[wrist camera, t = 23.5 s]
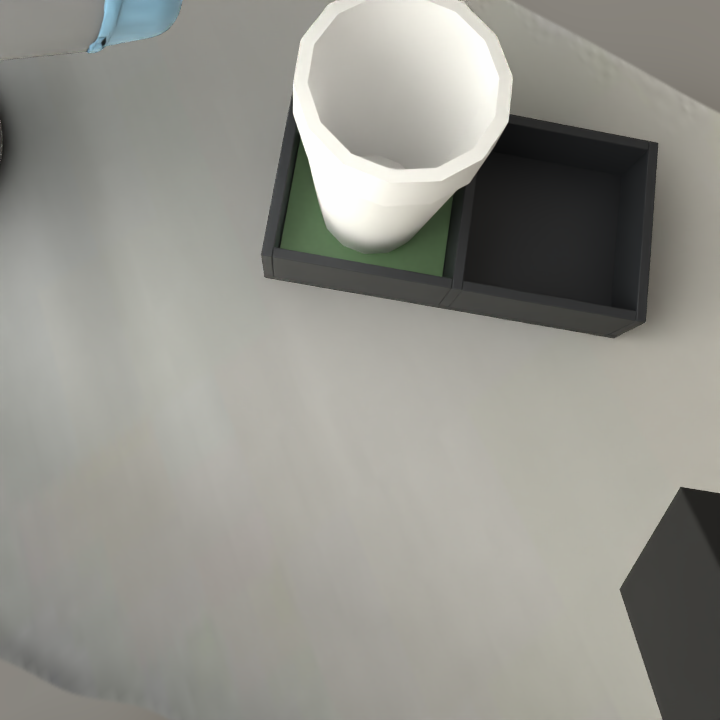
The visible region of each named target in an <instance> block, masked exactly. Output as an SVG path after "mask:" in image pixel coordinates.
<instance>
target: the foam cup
mask: <svg viewBox="0 0 720 720" xmlns="http://www.w3.org/2000/svg"><path fill="white" fill-rule="evenodd" d="M512 83H513V76H512V74H511V71H510V69H509V66H508V63H507V61H506V58H505V56H504V53H503V50H502V48H501V45H500V43H499V40H498V38H497V35H496V34H495V33H494V32H493V31H492V30H491V29H490V28H489V27H488V26H487V25H486V24H485V23H484V22H483V21H482V20H481V19H480V18H478V17H477V16H476V15H475V14H474V13H473V12H472V11H471V10H470V9H469V8H468V7H467V6H466V5H465V4H464V3H463V2H461V1H459V0H336V1H334V2H332V3H330V4H328V6H327V7H326V8H325V9H324V11H323V12H322V13H321V14H320V16H319V17H318V18H317V19H316V21H315V22H314V23H313V24H312V26H311V27H310V28H309V29H308V31H307V32H306V33H305V34H304V36H303V37H302V38H301V40H300V46H299V52H298V58H297V64H296V69H295V75H294V81H293V114H294V118H295V121H296V124H297V127H298V130H299V133H300V136H301V139H302V142H303V145H304V148H305V151H306V154H307V156H308V160H309V164H310V169H311V173H312V177H313V181H314V186H315V190H316V194H317V198H318V203H319V206H320V209H321V212H322V215H323V218H324V222H325V225H326V228H327V229H328V230H329V232H330V233H331V234H332V235H333V236H334V237H335V238H336V239H337V240H338V241H339V242H340V243H341V244H342V245H343V246H346V247H348V248H351V249H353V250H356V251H358V252H361V253H363V254H375V253H389V252H390V251H392V250H394V249H396V248H398V247H400V246H402V245H403V244H405V243H407V242H408V241H409V240H411V239H412V237H413V236H414V235H415V234H416V233H417V232H418V231H419V230H420V229H421V228H422V227H423V226H424V225H425V224H426V223H427V222H428V220H429V219H430V218H431V217H432V216H433V215H434V214H435V213H436V212H437V211H438V210H439V209H440V208H441V207H442V206H443V204H444V203H445V202H446V201H447V200H448V199H449V198H450V197H451V196H452V195H453V194H454V193H455V192H456V191H457V190H458V189H460V188H462V187H463V186H465V185H467V184H469V183H470V182H471V180H472V179H473V177H474V176H475V174H476V173H477V171H478V170H479V168H480V167H481V166H482V164H483V163H484V161H485V160H486V158H487V157H488V155H489V154H490V152H491V151H492V149H493V148H494V146H495V144H496V143H497V141H498V139H499V137H500V136H501V134H502V132H503V131H504V129H505V127H506V125H507V124H508V122H509V112H510V103H511V93H512Z"/></svg>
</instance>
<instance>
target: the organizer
mask: <svg viewBox="0 0 720 720" xmlns="http://www.w3.org/2000/svg"><path fill="white" fill-rule="evenodd" d="M657 156H658V143H656V142H651V141H646V140H641V139H636V138H630V137H625V136H620V135H615V134H610V133H604V132H599V131H594V130H589V129H584V128H578V127H573V126H568V125H563V124H558V123H552V122H547V121H542V120H537V119H532V118H526V117H521V116H516V115H511V114H509V122H508V124H507V125H506V127H505V129H504V131H503V132H502V134H501V136H500V137H499V139H498V141H497V143H496V144H495V146H494V148H493V149H492V151H491V152H490V154H489V155H488V157H487V158H486V160H485V161H484V163H483V164H482V166H481V167H480V168H479V170H478V171H477V173H476V174H475V176H474V177H473V179H472V180H471V182H470V183H469V184H467V185H465V186H463V187H462V188H460V189H458V190H457V191H456V192H455V193H454V194H453V195H452V196H451V197H450V198H449V199H448V200H447V201H446V202H445V203H444V204H443V206H442V207H441V208H440V209H439V210H438V211H437V212H436V213H435V214H434V215H433V216H432V217H431V218H430V219H429V220H428V222H427V223H426V224H425V225H424V226H423V227H422V228H421V229H420V230H419V231H418V232H417V233H416V234H415V235H414V236H413V237H412V239H411V240H409V241H408V242H407V243H405V244H403V245H402V246H400V247H398V248H396V249H394V250H392V251H390V252H389V253H375V254H363V253H361V252H358V251H356V250H353V249H351V248H348V247H346V246H343V245H342V244H341V243H340V242H339V241H338V240H337V239H336V238H335V237H334V236H333V235H332V234H331V233H330V232H329V230H328V229H327V228H326V225H325V222H324V218H323V215H322V212H321V209H320V206H319V203H318V198H317V194H316V190H315V186H314V181H313V177H312V173H311V169H310V164H309V160H308V156H307V154H306V151H305V148H304V145H303V142H302V139H301V136H300V133H299V130H298V127H297V124H296V121H295V118H294V114H293V91H292V96H291V101H290V107H289V112H288V117H287V122H286V128H285V133H284V138H283V143H282V149H281V154H280V159H279V164H278V169H277V175H276V180H275V185H274V190H273V196H272V201H271V206H270V211H269V216H268V222H267V227H266V232H265V237H264V243H263V248H262V253H261V256H262V263H263V269H264V277H266V278H271V279H277V280H283V281H289V282H294V283H300V284H306V285H312V286H317V287H323V288H329V289H335V290H340V291H346V292H352V293H358V294H363V295H369V296H375V297H381V298H386V299H392V300H398V301H404V302H409V303H415V304H421V305H427V306H432V307H438V308H444V309H450V310H455V311H461V312H467V313H473V314H478V315H484V316H490V317H496V318H501V319H507V320H513V321H519V322H524V323H530V324H536V325H542V326H547V327H553V328H559V329H565V330H570V331H576V332H582V333H588V334H593V335H599V336H605V337H611V338H615V337H617V336H619V335H621V334H623V333H625V332H627V331H629V330H631V329H633V328H635V327H637V326H640V325H642V324H644V323H645V322H646V313H647V299H648V284H649V270H650V256H651V241H652V227H653V213H654V199H655V184H656V170H657Z"/></svg>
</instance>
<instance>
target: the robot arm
mask: <svg viewBox="0 0 720 720" xmlns="http://www.w3.org/2000/svg"><path fill="white" fill-rule="evenodd" d="M181 5H182V0H0V60H9V59H19V58H28V57H38V56H48V55H58V54H68V53H77V52H88V53H96V52H99V51H101V50H102V49H103V48H104V47H105V46H109V45H115V44H120V43H125V42H131V41H136V40H141V39H147V38H152V37H155V36H157V35H160V34H162V33H164V32H165V31H167V30H168V29H169V28H170V27H171V26H172V25H173V23H174V22H175V20H176V18H177V16H178V15H179V12H180V9H181ZM2 148H3V136H2V127H1V121H0V163H1V157H2ZM620 592H621V595H622V598H623V601H624V604H625V607H626V610H627V613H628V616H629V619H630V622H631V625H632V628H633V631H634V634H635V637H636V640H637V643H638V646H639V649H640V652H641V655H642V658H643V661H644V664H645V668H646V671H647V674H648V677H649V680H650V683H651V686H652V689H653V692H654V695H655V698H656V701H657V704H658V707H659V710H660V713H661V716H662V719H663V720H720V493H714V492H708V491H702V490H696V489H690V488H683V487H680V489H679V490H678V492H677V494H676V495H675V497H674V499H673V501H672V502H671V504H670V506H669V507H668V509H667V511H666V512H665V514H664V516H663V517H662V519H661V521H660V522H659V524H658V526H657V527H656V529H655V531H654V532H653V534H652V536H651V537H650V539H649V541H648V542H647V544H646V546H645V547H644V549H643V551H642V553H641V554H640V556H639V558H638V559H637V561H636V563H635V564H634V566H633V568H632V569H631V571H630V573H629V574H628V576H627V578H626V579H625V581H624V583H623V584H622V586H621V588H620Z"/></svg>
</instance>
